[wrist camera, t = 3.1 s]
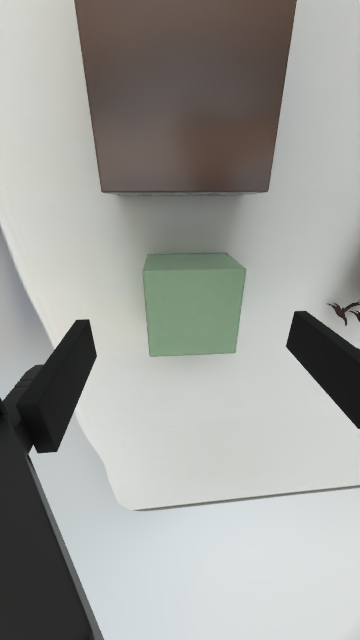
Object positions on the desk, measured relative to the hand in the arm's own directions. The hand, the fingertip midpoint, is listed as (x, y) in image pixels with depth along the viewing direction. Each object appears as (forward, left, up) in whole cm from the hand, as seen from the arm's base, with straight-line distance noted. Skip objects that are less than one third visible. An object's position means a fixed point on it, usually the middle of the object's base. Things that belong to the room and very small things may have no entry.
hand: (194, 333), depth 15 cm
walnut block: (-11, -7, -8) cm, 15 cm away
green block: (0, 0, -8) cm, 8 cm away
